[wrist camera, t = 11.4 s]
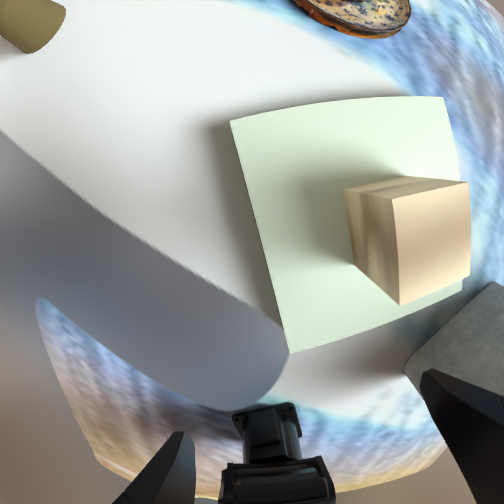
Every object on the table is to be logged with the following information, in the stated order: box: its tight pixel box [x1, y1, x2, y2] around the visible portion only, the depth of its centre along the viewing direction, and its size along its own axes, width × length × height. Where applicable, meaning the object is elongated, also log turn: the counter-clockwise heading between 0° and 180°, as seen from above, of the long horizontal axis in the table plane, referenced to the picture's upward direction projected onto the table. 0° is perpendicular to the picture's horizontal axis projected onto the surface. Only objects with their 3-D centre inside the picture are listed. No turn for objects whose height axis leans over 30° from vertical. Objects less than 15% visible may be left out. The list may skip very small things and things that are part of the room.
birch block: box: [342, 176, 471, 306], centre depth 13 cm, size 5×5×6 cm
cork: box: [0, 0, 66, 54], centre depth 7 cm, size 6×6×11 cm
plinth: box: [230, 96, 462, 354], centre depth 18 cm, size 16×16×3 cm
